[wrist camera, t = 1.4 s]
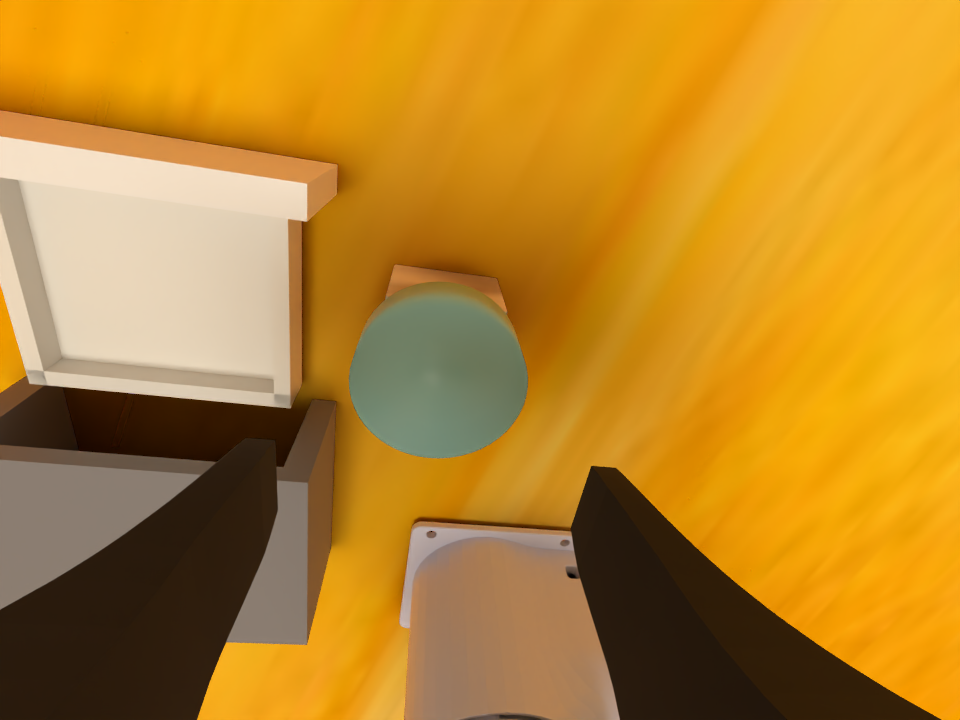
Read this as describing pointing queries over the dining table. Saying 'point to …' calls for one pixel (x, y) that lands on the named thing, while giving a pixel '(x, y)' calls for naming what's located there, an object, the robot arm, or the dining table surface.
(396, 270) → the pedestal
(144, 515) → the block
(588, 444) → the dining table surface
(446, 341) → the disc
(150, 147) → the tray
